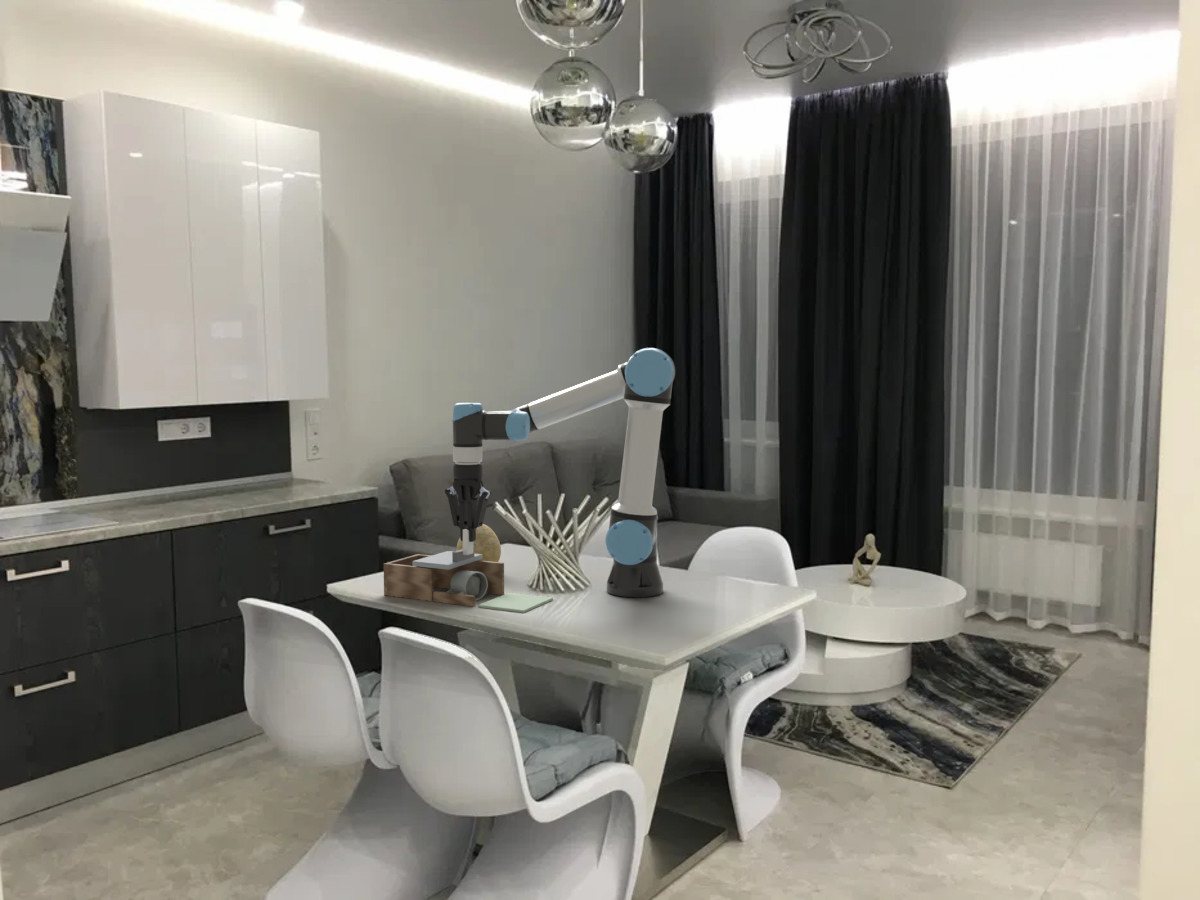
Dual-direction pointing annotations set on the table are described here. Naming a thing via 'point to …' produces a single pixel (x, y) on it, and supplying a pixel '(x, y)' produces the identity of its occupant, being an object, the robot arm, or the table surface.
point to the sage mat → (515, 602)
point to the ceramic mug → (469, 583)
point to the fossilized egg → (485, 544)
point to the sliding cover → (447, 560)
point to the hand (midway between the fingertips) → (468, 553)
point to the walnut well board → (437, 580)
